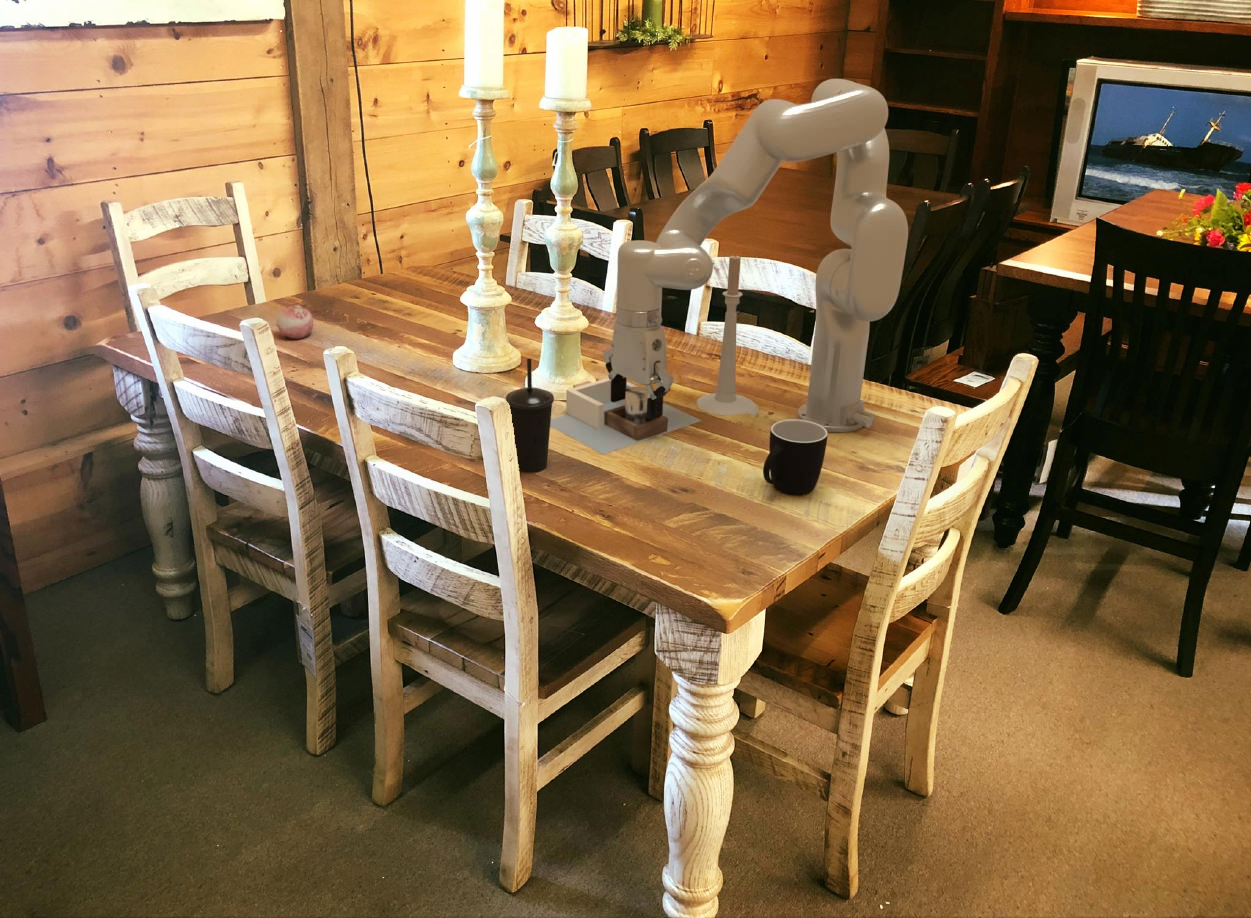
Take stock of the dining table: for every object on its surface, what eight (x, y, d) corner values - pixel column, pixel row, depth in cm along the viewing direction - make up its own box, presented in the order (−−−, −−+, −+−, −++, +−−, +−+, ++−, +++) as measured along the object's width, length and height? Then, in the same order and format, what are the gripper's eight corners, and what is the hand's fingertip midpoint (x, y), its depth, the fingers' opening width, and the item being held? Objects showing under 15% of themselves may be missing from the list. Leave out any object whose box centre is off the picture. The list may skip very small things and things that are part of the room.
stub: (651, 428, 187) (653, 391, 184) (634, 434, 185) (635, 397, 182) (637, 421, 190) (637, 384, 187) (620, 426, 187) (620, 390, 184)
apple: (310, 345, 228) (299, 319, 223) (276, 346, 230) (265, 319, 225) (322, 323, 234) (311, 296, 229) (289, 324, 235) (278, 297, 230)
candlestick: (739, 394, 206) (751, 243, 193) (770, 419, 195) (785, 261, 182) (679, 402, 202) (687, 248, 189) (708, 428, 191) (718, 266, 178)
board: (701, 428, 191) (701, 420, 191) (603, 462, 178) (603, 454, 177) (639, 399, 203) (639, 392, 202) (543, 429, 189) (543, 421, 188)
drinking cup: (498, 473, 173) (494, 358, 164) (534, 459, 178) (532, 347, 169) (528, 489, 168) (525, 371, 160) (564, 474, 173) (563, 360, 164)
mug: (790, 470, 177) (795, 414, 172) (832, 489, 171) (839, 432, 166) (741, 491, 169) (745, 433, 165) (783, 511, 163) (789, 452, 159)
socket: (667, 430, 186) (667, 417, 185) (637, 441, 182) (637, 427, 181) (634, 414, 192) (634, 402, 191) (604, 424, 188) (604, 411, 187)
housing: (646, 413, 193) (647, 390, 191) (598, 429, 186) (598, 405, 184) (604, 393, 201) (604, 371, 199) (556, 407, 194) (556, 385, 192)
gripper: (690, 324, 174) (685, 419, 182) (622, 299, 186) (620, 389, 194) (656, 333, 170) (653, 430, 177) (589, 307, 182) (588, 398, 189)
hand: (636, 408), depth 186 cm, fingers open, 9 cm apart
